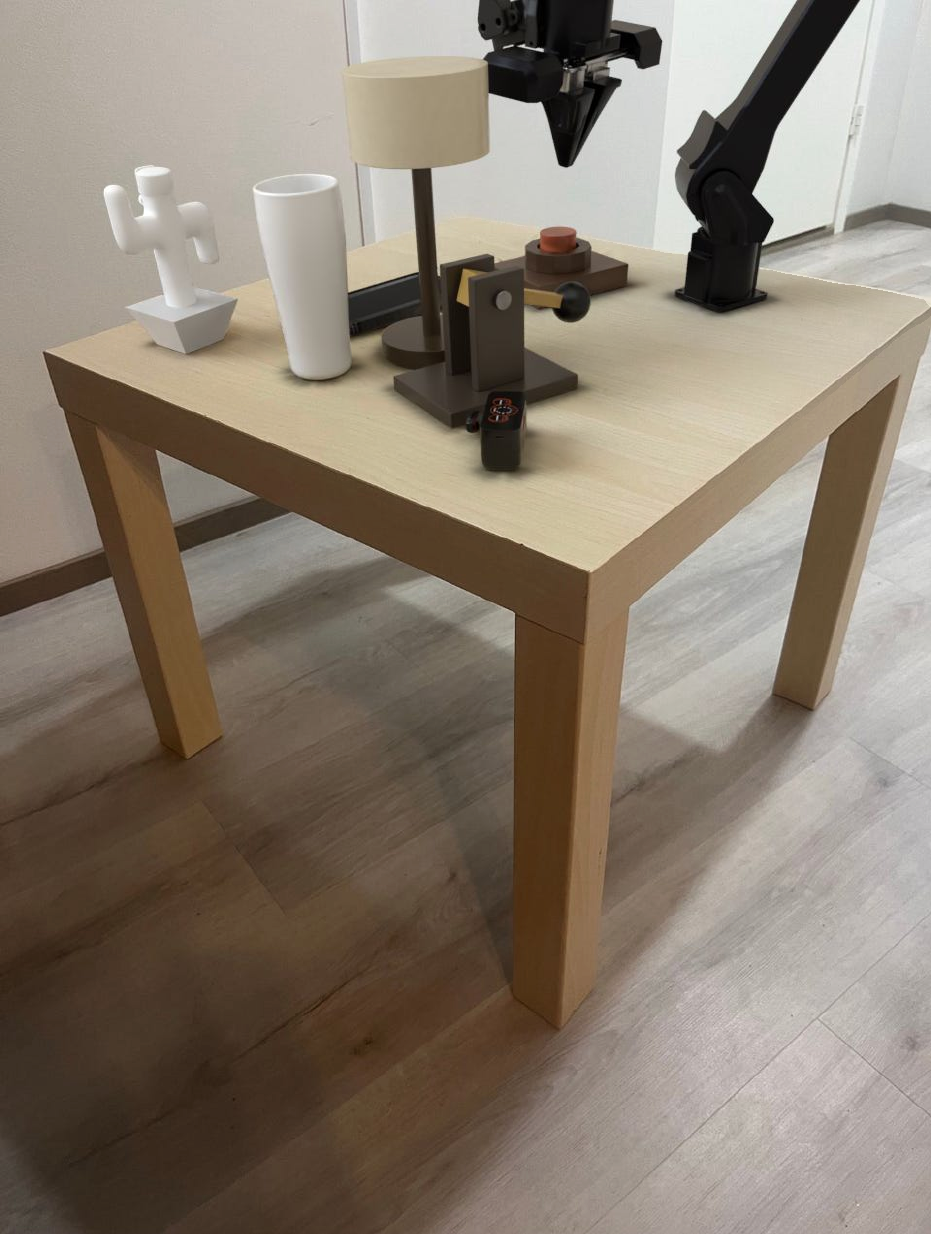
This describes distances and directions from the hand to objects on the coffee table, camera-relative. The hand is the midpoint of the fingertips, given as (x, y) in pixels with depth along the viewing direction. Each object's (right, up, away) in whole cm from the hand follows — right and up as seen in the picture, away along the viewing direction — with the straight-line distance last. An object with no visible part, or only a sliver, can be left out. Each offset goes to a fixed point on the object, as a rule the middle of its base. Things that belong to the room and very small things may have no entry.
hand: (565, 166), depth 86 cm
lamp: (-12, -18, -2) cm, 21 cm away
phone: (-17, -11, +7) cm, 21 cm away
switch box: (0, -7, +10) cm, 13 cm away
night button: (0, -5, +8) cm, 9 cm away
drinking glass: (-22, -20, -5) cm, 30 cm away
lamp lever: (-5, -17, -11) cm, 21 cm away
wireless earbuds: (-7, -29, -18) cm, 35 cm away
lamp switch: (-8, -23, -10) cm, 26 cm away
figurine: (-35, -16, +2) cm, 38 cm away
